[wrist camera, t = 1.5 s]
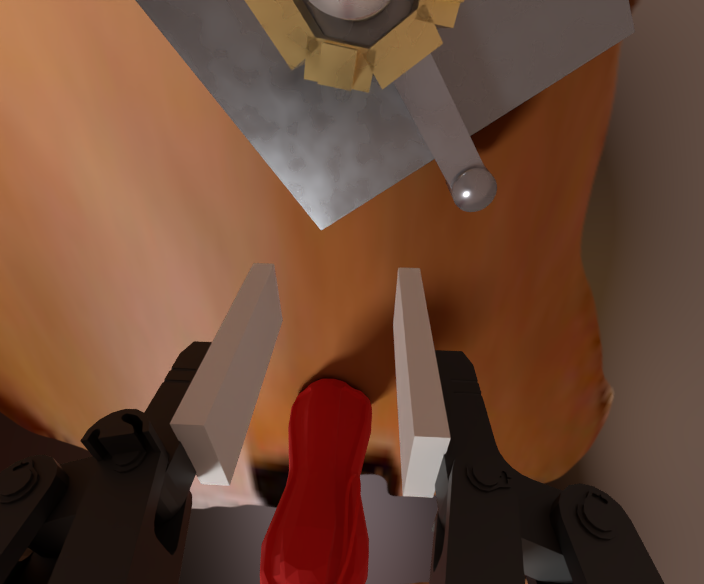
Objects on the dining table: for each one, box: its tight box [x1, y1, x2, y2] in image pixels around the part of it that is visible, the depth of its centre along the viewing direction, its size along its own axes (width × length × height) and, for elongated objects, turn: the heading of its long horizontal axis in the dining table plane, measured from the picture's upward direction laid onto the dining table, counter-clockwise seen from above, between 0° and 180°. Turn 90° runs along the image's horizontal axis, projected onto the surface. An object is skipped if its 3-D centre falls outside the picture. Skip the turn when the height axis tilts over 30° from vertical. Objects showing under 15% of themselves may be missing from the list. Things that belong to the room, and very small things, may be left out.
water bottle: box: [260, 379, 372, 584], centre depth 37 cm, size 9×11×25 cm
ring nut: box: [245, 0, 497, 212], centre depth 20 cm, size 21×11×6 cm, turn 35°
